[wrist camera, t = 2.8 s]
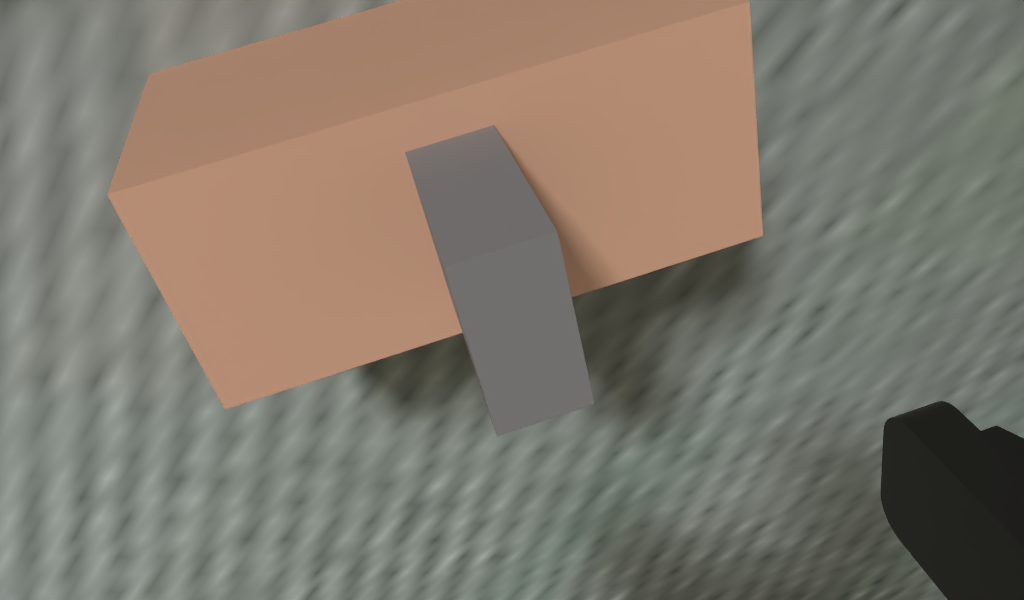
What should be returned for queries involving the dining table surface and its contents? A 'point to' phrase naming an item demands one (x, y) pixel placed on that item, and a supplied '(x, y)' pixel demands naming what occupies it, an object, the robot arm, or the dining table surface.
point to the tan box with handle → (439, 185)
